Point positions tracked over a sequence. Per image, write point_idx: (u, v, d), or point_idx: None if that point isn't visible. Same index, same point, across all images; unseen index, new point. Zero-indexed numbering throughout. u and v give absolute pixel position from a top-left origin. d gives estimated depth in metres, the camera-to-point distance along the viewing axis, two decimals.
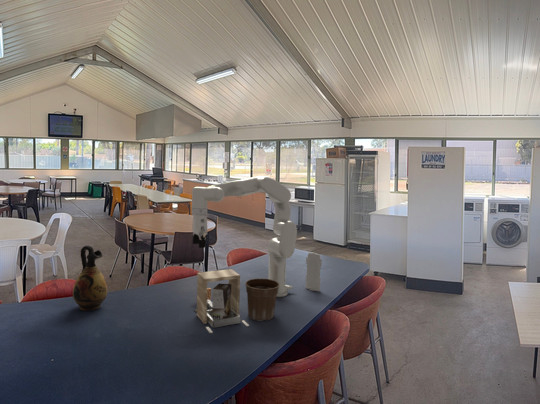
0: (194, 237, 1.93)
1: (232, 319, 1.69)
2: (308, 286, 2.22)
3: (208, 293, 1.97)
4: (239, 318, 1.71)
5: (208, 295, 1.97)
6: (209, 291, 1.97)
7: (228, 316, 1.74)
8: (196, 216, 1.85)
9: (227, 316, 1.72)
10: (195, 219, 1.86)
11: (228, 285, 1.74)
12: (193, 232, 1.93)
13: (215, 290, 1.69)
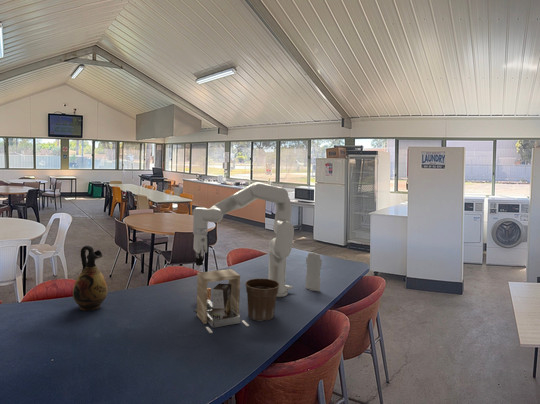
0: None
1: (232, 319, 1.69)
2: (308, 286, 2.22)
3: (208, 293, 1.97)
4: (239, 318, 1.71)
5: (208, 295, 1.97)
6: (209, 291, 1.97)
7: (228, 316, 1.74)
8: (197, 235, 1.97)
9: (227, 316, 1.72)
10: (196, 238, 1.98)
11: (228, 285, 1.74)
12: (196, 253, 2.02)
13: (215, 290, 1.69)
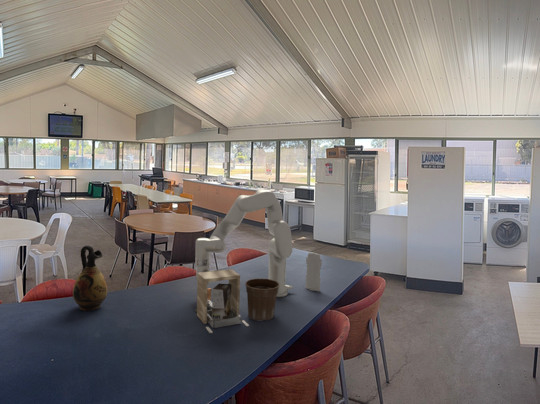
0: None
1: (232, 319, 1.69)
2: (308, 286, 2.22)
3: (208, 293, 1.97)
4: (239, 318, 1.70)
5: (208, 295, 1.97)
6: (209, 291, 1.97)
7: (228, 316, 1.74)
8: (199, 267, 1.95)
9: (227, 316, 1.72)
10: (198, 269, 1.96)
11: (228, 285, 1.74)
12: None
13: (215, 290, 1.69)
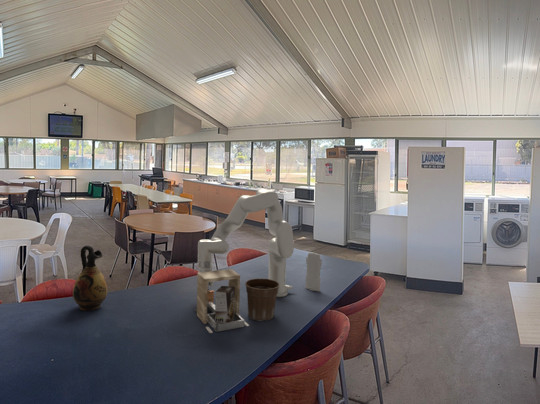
0: None
1: (236, 323, 1.65)
2: (308, 286, 2.22)
3: (211, 296, 1.93)
4: (243, 322, 1.67)
5: (211, 298, 1.93)
6: (212, 294, 1.93)
7: (231, 319, 1.70)
8: (202, 269, 1.91)
9: (230, 319, 1.69)
10: (201, 271, 1.92)
11: (231, 287, 1.71)
12: None
13: (218, 293, 1.65)
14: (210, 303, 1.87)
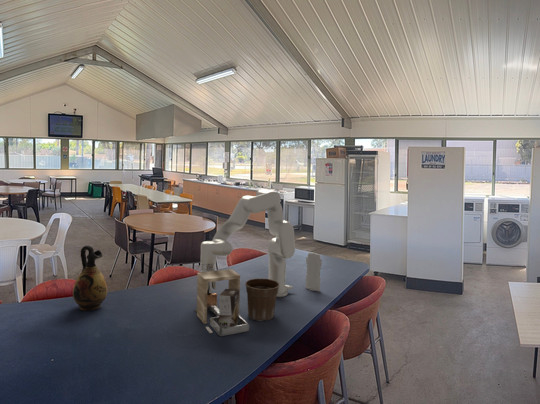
0: None
1: (240, 327, 1.61)
2: (308, 286, 2.22)
3: (214, 299, 1.89)
4: (247, 326, 1.63)
5: (214, 301, 1.89)
6: (215, 297, 1.89)
7: (235, 323, 1.66)
8: (205, 271, 1.87)
9: (234, 323, 1.64)
10: None
11: (235, 291, 1.67)
12: None
13: (222, 296, 1.61)
14: (213, 306, 1.83)
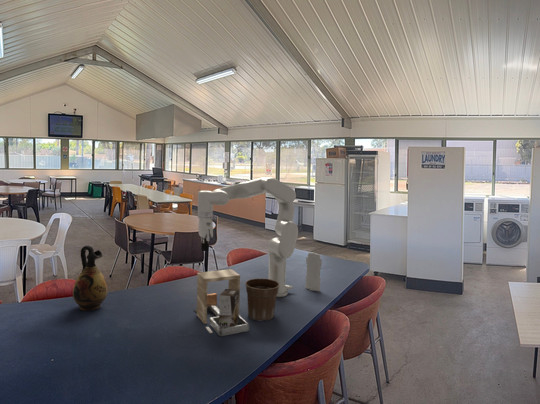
0: None
1: (240, 327, 1.61)
2: (308, 286, 2.22)
3: (214, 299, 1.89)
4: (247, 326, 1.63)
5: (214, 301, 1.89)
6: (215, 297, 1.89)
7: (235, 323, 1.66)
8: (202, 219, 1.89)
9: (234, 323, 1.64)
10: (201, 222, 1.90)
11: (235, 291, 1.67)
12: (201, 238, 1.94)
13: (222, 296, 1.61)
14: (213, 306, 1.83)
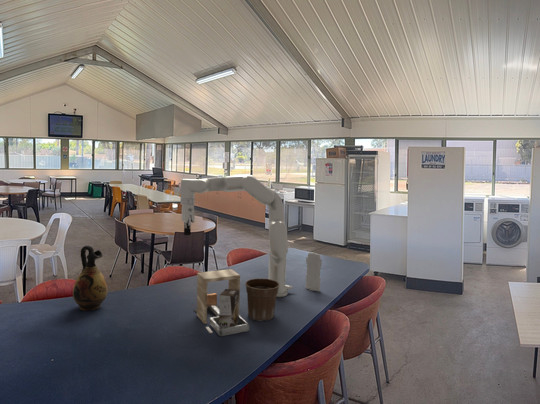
0: None
1: (240, 327, 1.61)
2: (308, 286, 2.22)
3: (214, 299, 1.89)
4: (247, 326, 1.63)
5: (214, 301, 1.89)
6: (215, 297, 1.89)
7: (235, 323, 1.66)
8: (184, 205, 2.03)
9: (234, 323, 1.64)
10: (183, 208, 2.04)
11: (235, 291, 1.67)
12: (184, 224, 2.09)
13: (222, 296, 1.61)
14: (213, 306, 1.83)
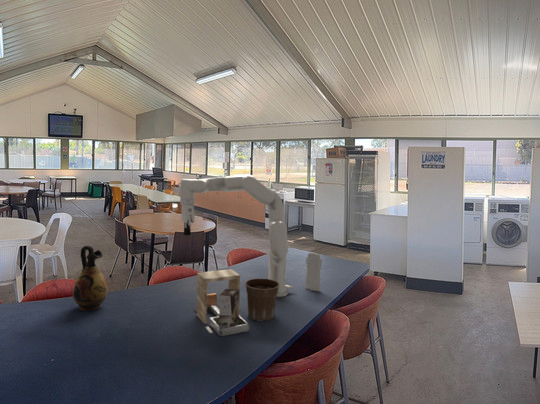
0: None
1: (240, 327, 1.61)
2: (308, 286, 2.22)
3: (214, 299, 1.89)
4: (247, 326, 1.63)
5: (214, 301, 1.89)
6: (215, 297, 1.89)
7: (235, 323, 1.66)
8: (184, 206, 2.03)
9: (234, 323, 1.64)
10: (183, 208, 2.04)
11: (235, 291, 1.67)
12: (184, 224, 2.09)
13: (222, 296, 1.61)
14: (213, 306, 1.83)
